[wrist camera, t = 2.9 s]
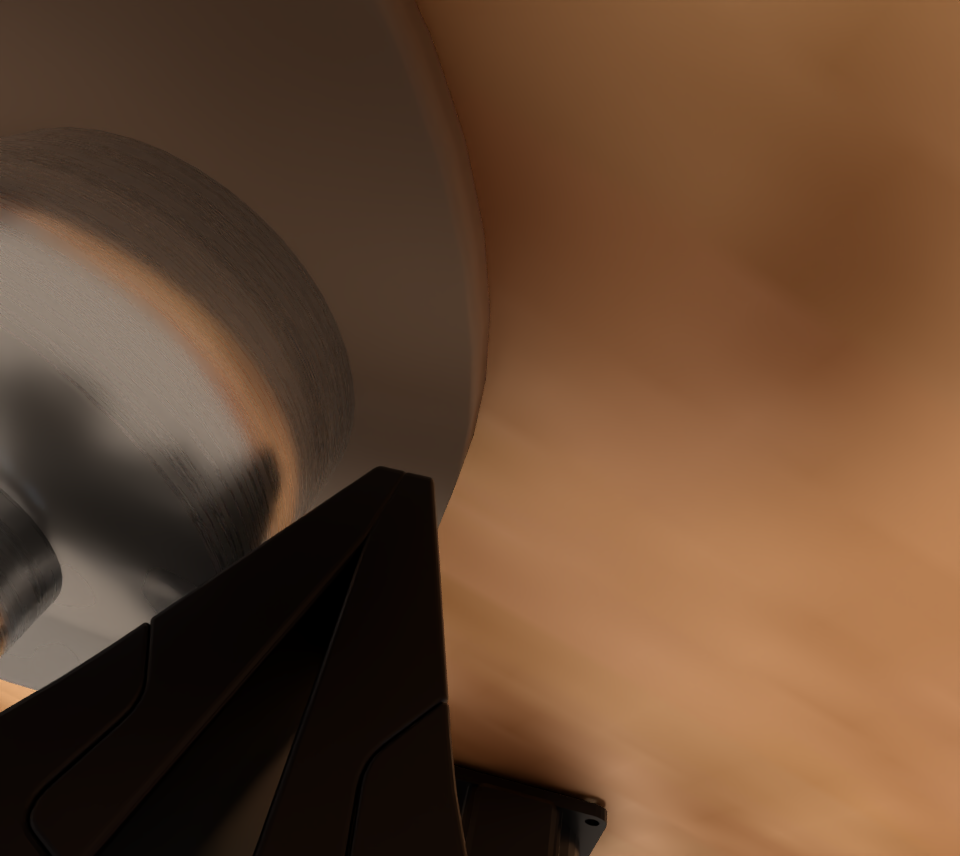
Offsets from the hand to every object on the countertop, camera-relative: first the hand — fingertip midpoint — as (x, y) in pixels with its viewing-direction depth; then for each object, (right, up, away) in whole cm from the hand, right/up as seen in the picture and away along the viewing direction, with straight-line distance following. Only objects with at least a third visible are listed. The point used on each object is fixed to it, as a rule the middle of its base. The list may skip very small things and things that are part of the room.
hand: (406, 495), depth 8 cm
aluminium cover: (-4, +2, +2) cm, 5 cm away
